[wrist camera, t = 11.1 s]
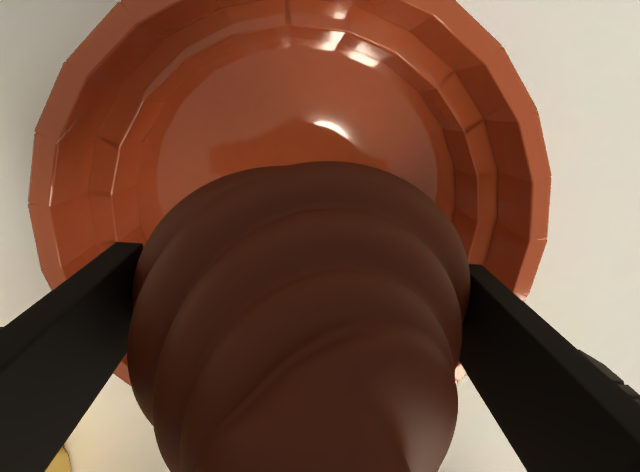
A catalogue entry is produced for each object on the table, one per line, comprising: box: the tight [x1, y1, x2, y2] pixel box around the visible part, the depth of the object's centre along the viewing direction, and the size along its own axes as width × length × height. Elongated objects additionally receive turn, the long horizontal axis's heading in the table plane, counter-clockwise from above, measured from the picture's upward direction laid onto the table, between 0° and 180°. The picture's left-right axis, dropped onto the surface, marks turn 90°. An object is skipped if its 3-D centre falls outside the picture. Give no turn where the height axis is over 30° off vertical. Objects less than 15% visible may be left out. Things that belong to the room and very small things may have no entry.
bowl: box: [28, 0, 551, 386], centre depth 17 cm, size 21×21×6 cm
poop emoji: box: [127, 161, 470, 472], centre depth 8 cm, size 10×8×9 cm
